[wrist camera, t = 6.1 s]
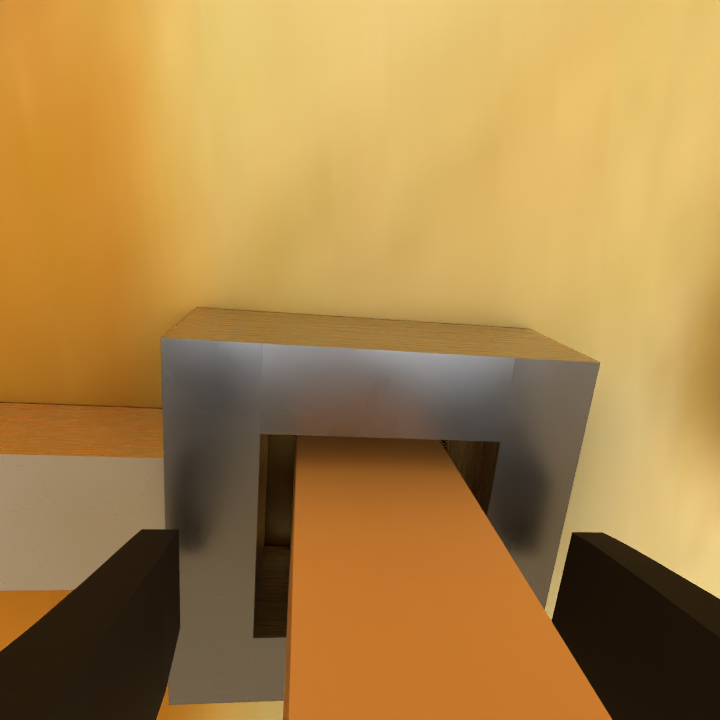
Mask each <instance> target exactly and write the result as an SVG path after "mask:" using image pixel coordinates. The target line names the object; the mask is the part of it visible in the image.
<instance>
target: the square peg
mask: <svg viewBox="0 0 720 720" xmlns="http://www.w3.org/2000/svg"><path fill="white" fill-rule="evenodd" d="M283 720H612V718H611V717H610V715H609V714H608V712H607V710H606V709H605V707H604V705H603V704H602V702H601V701H600V699H599V697H598V696H597V694H596V693H595V691H594V689H593V688H592V686H591V684H590V683H589V681H588V680H587V678H586V676H585V675H584V673H583V672H582V670H581V668H580V667H579V665H578V663H577V662H576V660H575V659H574V657H573V655H572V654H571V652H570V651H569V649H568V647H567V646H566V644H565V642H564V641H563V639H562V638H561V636H560V634H559V633H558V631H557V630H556V628H555V626H554V625H553V623H552V621H551V620H550V618H549V617H548V615H547V613H546V612H545V610H544V609H543V607H542V605H541V604H540V602H539V600H538V599H537V597H536V596H535V594H534V592H533V591H532V589H531V588H530V586H529V584H528V583H527V581H526V579H525V578H524V576H523V575H522V573H521V571H520V570H519V568H518V567H517V565H516V563H515V562H514V560H513V558H512V557H511V555H510V554H509V552H508V550H507V549H506V547H505V546H504V544H503V542H502V541H501V539H500V537H499V536H498V534H497V533H496V531H495V529H494V528H493V526H492V525H491V523H490V521H489V520H488V518H487V516H486V515H485V513H484V512H483V510H482V508H481V507H480V505H479V504H478V502H477V500H476V499H475V497H474V495H473V494H472V492H471V491H470V489H469V487H468V486H467V484H466V483H465V481H464V479H463V478H462V476H461V474H460V473H459V471H458V470H457V468H456V466H455V465H454V463H453V462H452V460H451V458H450V457H449V455H448V453H447V452H446V450H445V449H444V447H443V445H442V444H441V442H440V441H439V440H430V439H400V438H369V437H339V436H308V435H296V449H295V466H294V482H293V499H292V516H291V538H290V562H289V587H288V612H287V636H286V661H285V686H284V710H283Z"/></svg>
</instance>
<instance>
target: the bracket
mask: <svg viewBox="0 0 720 720" xmlns="http://www.w3.org/2000/svg"><path fill="white" fill-rule="evenodd" d="M599 366H600V362H598V361H596V360H594V359H592V358H590V357H588V356H585V355H583V354H581V353H579V352H577V351H575V350H573V349H571V348H569V347H567V346H565V345H562V344H560V343H558V342H556V341H554V340H552V339H550V338H548V337H546V336H544V335H542V334H540V333H537V332H535V331H533V330H531V329H522V328H507V327H492V326H476V325H461V324H445V323H430V322H414V321H399V320H384V319H368V318H353V317H337V316H322V315H306V314H291V313H276V312H260V311H245V310H229V309H214V308H196V309H195V310H194V311H193V312H191V313H190V314H189V315H188V316H187V317H185V318H184V319H183V320H182V321H181V322H179V323H178V324H177V325H176V326H175V327H173V328H172V329H171V330H170V331H168V332H167V333H166V334H165V335H164V336H162V337H161V367H162V409H156V408H130V407H103V406H77V405H51V404H25V403H0V591H8V590H74V589H76V588H77V587H78V586H79V585H80V584H81V583H82V582H83V581H85V580H86V579H87V578H88V577H89V576H90V575H91V574H92V573H93V572H94V571H96V570H97V569H98V568H99V567H100V566H101V565H102V564H103V563H104V562H106V561H107V560H108V559H109V558H110V557H111V556H112V555H113V554H114V553H115V552H116V551H118V550H119V549H120V548H121V547H122V546H123V545H124V544H125V543H126V542H128V541H129V540H130V539H131V538H132V537H133V536H134V535H136V534H137V533H138V532H139V531H140V530H141V529H179V570H180V631H179V636H178V640H177V644H176V649H175V653H174V658H173V662H172V666H171V670H170V675H169V679H168V681H169V705H179V704H206V703H232V702H259V701H284V686H285V661H286V636H287V612H288V587H289V562H290V546H264V535H265V510H266V485H267V460H268V434H277V435H308V436H339V437H369V438H400V439H430V440H447V447H446V452H447V453H448V455H449V457H450V458H451V460H452V462H453V463H454V465H455V466H456V468H457V470H458V471H459V473H460V474H461V476H462V478H463V479H464V481H465V483H466V484H467V486H468V487H469V489H470V491H471V492H472V494H473V495H474V497H475V499H476V500H477V502H478V504H479V505H480V507H481V508H482V510H483V512H484V513H485V515H486V516H487V518H488V520H489V521H490V523H491V525H492V526H493V528H494V529H495V531H496V533H497V534H498V536H499V537H500V539H501V541H502V542H503V544H504V546H505V547H506V549H507V550H508V552H509V554H510V555H511V557H512V558H513V560H514V562H515V563H516V565H517V567H518V568H519V570H520V571H521V573H522V575H523V576H524V578H525V579H526V581H527V583H528V584H529V586H530V588H531V589H532V591H533V592H534V594H535V596H536V597H537V599H538V600H539V602H540V604H541V605H542V607H543V609H544V610H545V605H546V601H547V596H548V592H549V587H550V583H551V578H552V574H553V570H554V565H555V561H556V556H557V552H558V547H559V543H560V539H561V534H562V530H563V525H564V521H565V516H566V512H567V508H568V503H569V499H570V494H571V490H572V485H573V481H574V477H575V472H576V468H577V463H578V459H579V454H580V450H581V445H582V441H583V437H584V432H585V428H586V423H587V419H588V414H589V410H590V406H591V401H592V397H593V392H594V388H595V383H596V379H597V375H598V370H599Z"/></svg>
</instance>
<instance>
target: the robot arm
mask: <svg viewBox="0 0 720 720" xmlns="http://www.w3.org/2000/svg"><path fill="white" fill-rule="evenodd" d="M552 623H553V625H554V626H555V628H556V630H557V631H558V633H559V634H560V636H561V638H562V639H563V641H564V642H565V644H566V646H567V647H568V649H569V651H570V652H571V654H572V655H573V657H574V659H575V660H576V662H577V663H578V665H579V667H580V668H581V670H582V672H583V673H584V675H585V676H586V678H587V680H588V681H589V683H590V684H591V686H592V688H593V689H594V691H595V693H596V694H597V696H598V697H599V699H600V701H601V702H602V704H603V705H604V707H605V709H606V710H607V712H608V714H609V715H610V717H611V718H612V720H720V599H719V598H717V597H715V596H714V595H712V594H710V593H708V592H707V591H705V590H703V589H702V588H700V587H698V586H697V585H695V584H693V583H691V582H690V581H688V580H686V579H685V578H683V577H681V576H680V575H678V574H676V573H675V572H673V571H671V570H669V569H668V568H666V567H664V566H663V565H661V564H659V563H658V562H656V561H654V560H652V559H651V558H649V557H647V556H645V555H644V554H642V553H640V552H638V551H637V550H635V549H633V548H631V547H630V546H628V545H626V544H624V543H622V542H620V541H618V540H616V539H614V538H612V537H610V536H608V535H606V534H604V533H589V532H572V536H571V540H570V545H569V549H568V553H567V558H566V562H565V566H564V570H563V575H562V579H561V583H560V588H559V592H558V596H557V601H556V605H555V609H554V614H553V618H552ZM179 631H180V570H179V529H141V530H140V531H139V532H138V533H137V534H136V535H134V536H133V537H132V538H131V539H130V540H129V541H128V542H126V543H125V544H124V545H123V546H122V547H121V548H120V549H119V550H118V551H116V552H115V553H114V554H113V555H112V556H111V557H110V558H109V559H108V560H107V561H106V562H104V563H103V564H102V565H101V566H100V567H99V568H98V569H97V570H96V571H94V572H93V573H92V574H91V575H90V576H89V577H88V578H87V579H86V580H85V581H83V582H82V583H81V584H80V585H79V586H78V587H77V588H76V589H74V590H73V591H72V592H71V593H70V594H69V595H67V596H66V597H65V598H64V599H63V600H62V601H61V602H59V603H58V604H57V605H56V606H55V607H54V608H52V609H51V610H50V611H49V612H48V613H47V614H46V615H44V616H43V617H42V618H41V619H40V620H39V621H37V622H36V623H35V624H34V625H33V626H32V627H30V628H29V629H28V630H27V631H26V632H24V633H23V634H22V635H21V636H19V637H18V638H17V639H16V640H14V641H13V642H12V643H11V644H9V645H8V646H7V647H6V648H4V649H3V650H2V651H1V652H0V720H156V718H157V715H158V712H159V709H160V706H161V703H162V700H163V697H164V694H165V691H166V687H167V683H168V679H169V675H170V670H171V666H172V662H173V658H174V653H175V649H176V644H177V640H178V636H179Z"/></svg>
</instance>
